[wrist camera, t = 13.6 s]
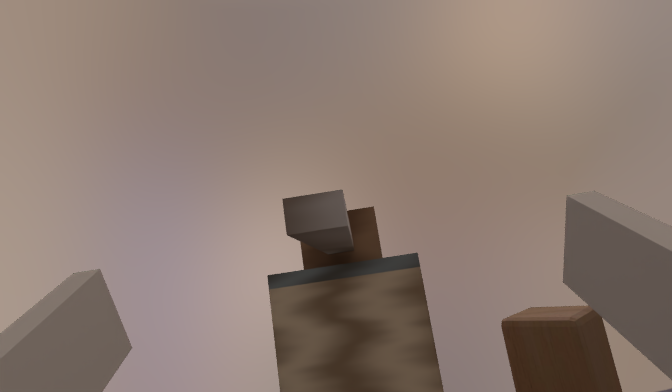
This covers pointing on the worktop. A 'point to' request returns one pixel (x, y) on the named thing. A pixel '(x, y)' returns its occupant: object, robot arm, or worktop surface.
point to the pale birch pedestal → (354, 328)
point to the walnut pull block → (331, 230)
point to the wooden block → (559, 350)
